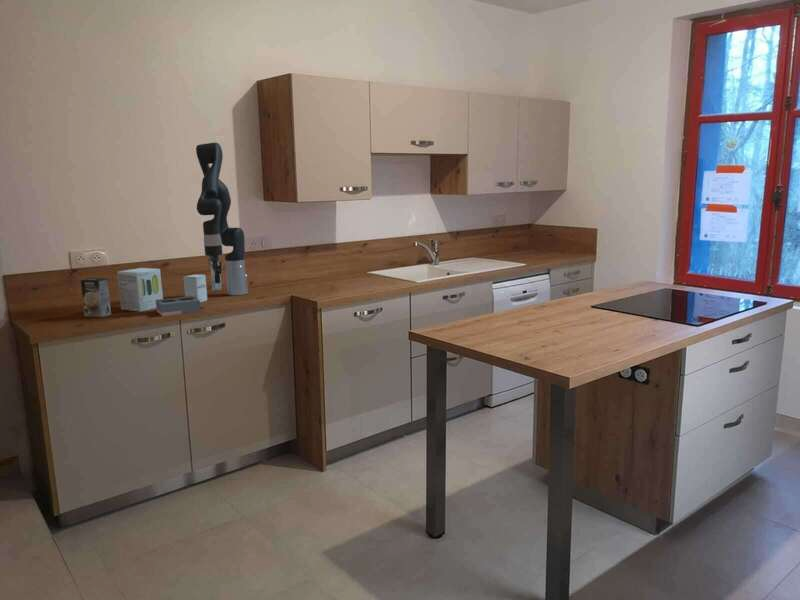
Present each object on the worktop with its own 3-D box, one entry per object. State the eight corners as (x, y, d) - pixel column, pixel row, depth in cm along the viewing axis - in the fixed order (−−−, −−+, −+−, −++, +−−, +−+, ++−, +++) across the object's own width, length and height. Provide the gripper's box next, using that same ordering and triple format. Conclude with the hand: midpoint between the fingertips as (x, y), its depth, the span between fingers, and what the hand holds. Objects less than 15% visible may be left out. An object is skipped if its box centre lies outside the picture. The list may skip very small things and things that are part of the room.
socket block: (193, 306, 288) (192, 295, 287) (200, 311, 276) (199, 300, 275) (156, 311, 280) (155, 299, 279) (162, 316, 268) (161, 304, 267)
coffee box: (83, 316, 272) (79, 279, 269) (94, 313, 278) (89, 277, 275) (102, 317, 270) (98, 280, 267) (112, 314, 276) (108, 277, 273)
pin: (220, 288, 288) (218, 266, 286) (222, 289, 284) (220, 267, 282) (211, 289, 286) (209, 267, 284) (213, 290, 282) (211, 268, 280)
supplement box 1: (140, 311, 279) (136, 272, 276) (120, 309, 286) (116, 271, 282) (164, 306, 291) (160, 268, 287) (145, 304, 297) (141, 267, 294)
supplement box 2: (198, 303, 295) (195, 276, 293) (185, 303, 298) (182, 276, 295) (208, 300, 302) (205, 274, 300) (195, 300, 305) (192, 274, 302)
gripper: (225, 244, 277) (229, 283, 280) (217, 242, 289) (220, 279, 292) (208, 246, 273) (212, 285, 276) (200, 243, 285) (204, 281, 288)
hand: (216, 282), depth 284 cm, fingers closed on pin, 4 cm apart
